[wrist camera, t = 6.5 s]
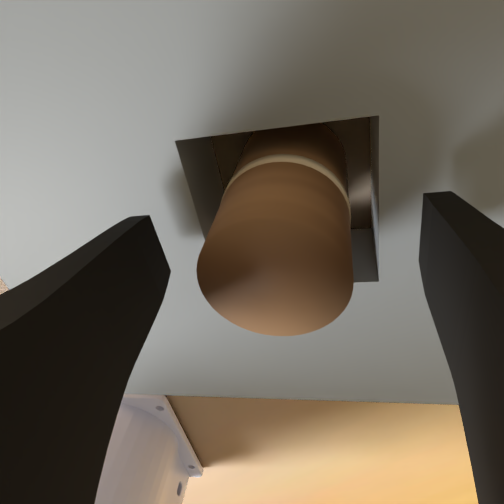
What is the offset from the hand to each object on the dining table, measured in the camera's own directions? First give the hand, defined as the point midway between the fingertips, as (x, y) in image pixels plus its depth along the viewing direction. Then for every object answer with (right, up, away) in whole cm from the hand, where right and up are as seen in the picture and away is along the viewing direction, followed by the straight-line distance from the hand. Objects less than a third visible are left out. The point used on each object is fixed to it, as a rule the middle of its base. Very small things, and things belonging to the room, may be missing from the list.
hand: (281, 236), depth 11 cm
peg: (+1, +3, +3) cm, 4 cm away
